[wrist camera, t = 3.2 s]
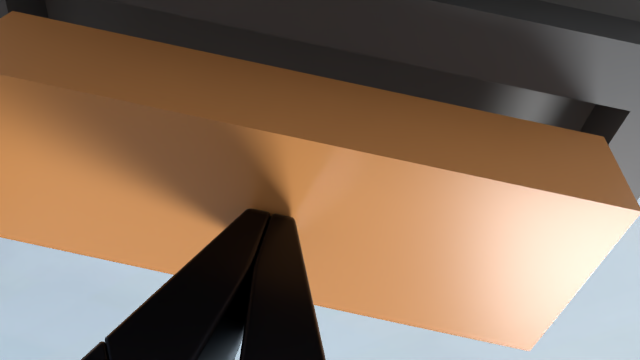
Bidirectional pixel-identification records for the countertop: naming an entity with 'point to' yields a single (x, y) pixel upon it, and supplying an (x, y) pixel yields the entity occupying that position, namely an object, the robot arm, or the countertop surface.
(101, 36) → the push button
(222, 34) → the panel
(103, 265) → the countertop surface
